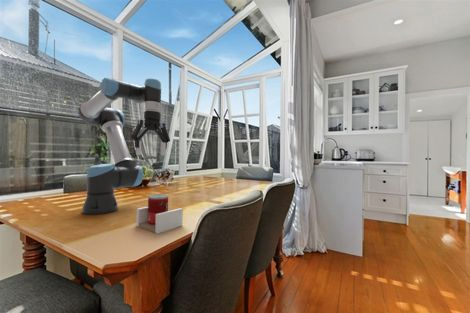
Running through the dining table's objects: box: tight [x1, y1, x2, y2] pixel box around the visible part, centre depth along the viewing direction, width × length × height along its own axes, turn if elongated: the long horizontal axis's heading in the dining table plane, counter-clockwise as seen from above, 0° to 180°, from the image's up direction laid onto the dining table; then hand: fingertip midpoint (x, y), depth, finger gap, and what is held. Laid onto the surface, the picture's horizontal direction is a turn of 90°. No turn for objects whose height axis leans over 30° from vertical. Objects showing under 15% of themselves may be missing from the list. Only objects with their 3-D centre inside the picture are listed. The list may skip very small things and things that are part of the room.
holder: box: [135, 206, 184, 234], centre depth 91 cm, size 14×12×7 cm
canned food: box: [147, 193, 169, 225], centre depth 91 cm, size 8×8×11 cm
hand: (151, 155), depth 107 cm, fingers open, 13 cm apart
